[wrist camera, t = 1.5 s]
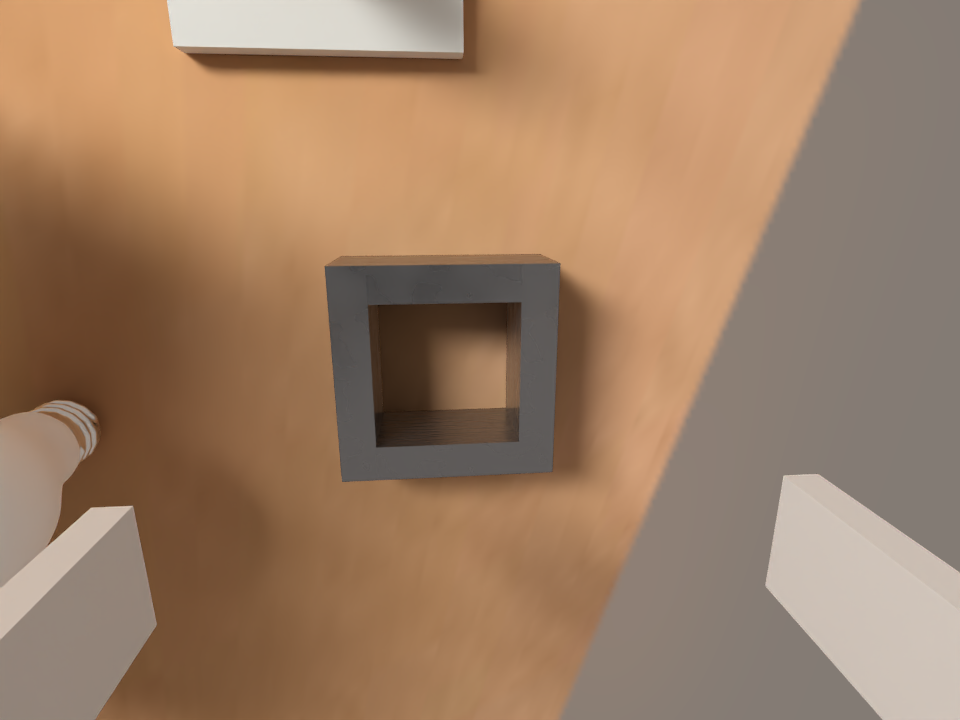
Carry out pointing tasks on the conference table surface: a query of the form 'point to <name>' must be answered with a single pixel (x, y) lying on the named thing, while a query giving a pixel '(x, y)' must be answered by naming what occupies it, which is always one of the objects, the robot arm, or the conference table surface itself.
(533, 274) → the grey square frame
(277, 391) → the conference table surface
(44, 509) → the light bulb
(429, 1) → the keeper
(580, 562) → the conference table surface
